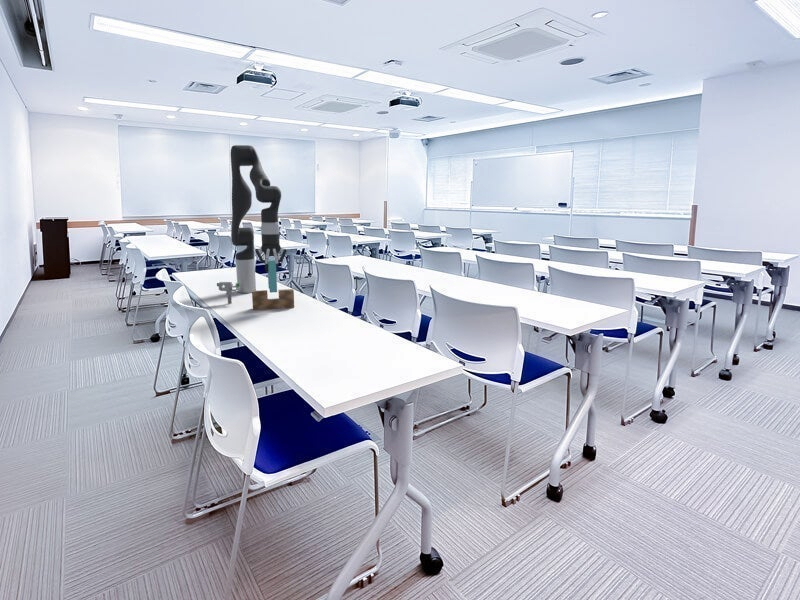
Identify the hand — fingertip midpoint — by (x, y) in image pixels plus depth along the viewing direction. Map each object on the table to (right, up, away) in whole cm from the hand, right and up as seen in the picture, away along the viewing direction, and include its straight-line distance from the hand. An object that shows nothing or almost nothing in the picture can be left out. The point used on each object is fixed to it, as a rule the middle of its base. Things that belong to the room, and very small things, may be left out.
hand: (272, 271), depth 211 cm
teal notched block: (0, -8, +2) cm, 8 cm away
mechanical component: (-23, -14, +11) cm, 29 cm away
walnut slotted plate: (0, -16, +4) cm, 17 cm away
